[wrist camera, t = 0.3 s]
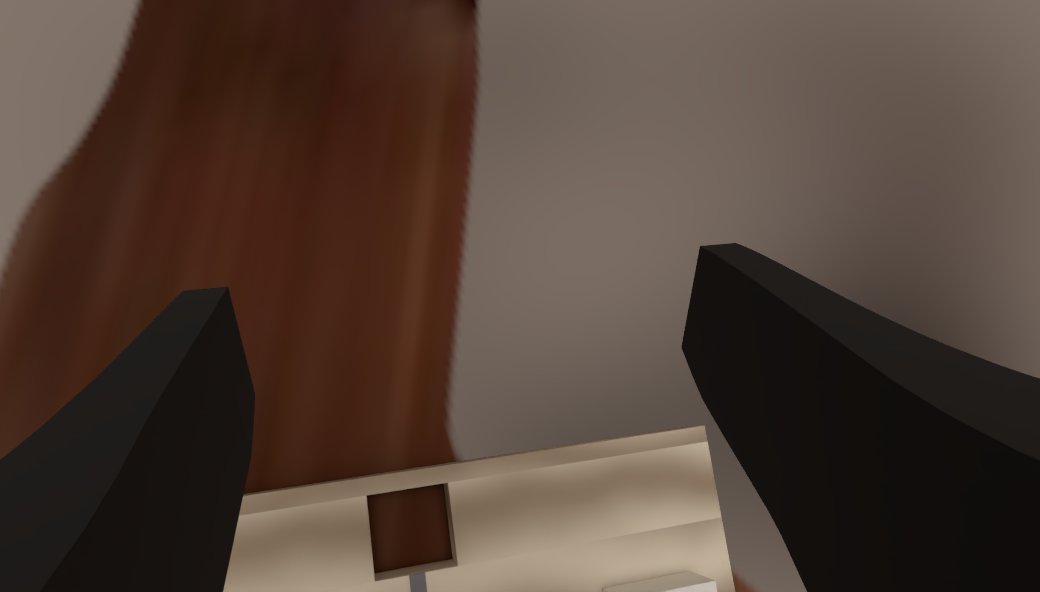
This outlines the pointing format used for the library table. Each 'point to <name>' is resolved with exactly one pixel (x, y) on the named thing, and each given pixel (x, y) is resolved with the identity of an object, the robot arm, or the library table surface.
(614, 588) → the finder
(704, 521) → the board
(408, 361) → the library table surface
